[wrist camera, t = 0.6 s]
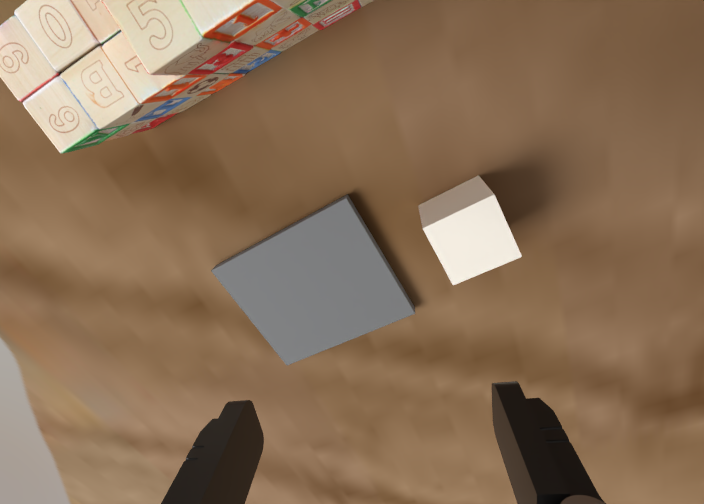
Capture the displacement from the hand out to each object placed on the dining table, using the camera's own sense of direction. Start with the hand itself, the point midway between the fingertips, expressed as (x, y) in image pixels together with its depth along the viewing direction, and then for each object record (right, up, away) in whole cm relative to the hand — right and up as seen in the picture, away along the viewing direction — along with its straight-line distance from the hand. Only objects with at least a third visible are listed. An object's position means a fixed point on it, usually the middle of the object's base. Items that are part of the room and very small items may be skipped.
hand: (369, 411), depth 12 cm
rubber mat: (-4, +2, +21) cm, 22 cm away
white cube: (+8, +8, +17) cm, 21 cm away
